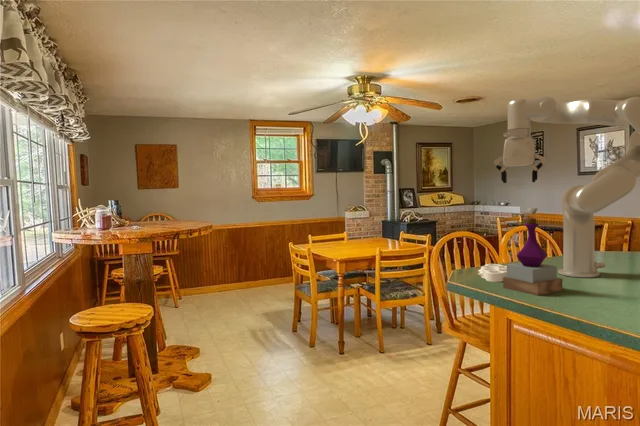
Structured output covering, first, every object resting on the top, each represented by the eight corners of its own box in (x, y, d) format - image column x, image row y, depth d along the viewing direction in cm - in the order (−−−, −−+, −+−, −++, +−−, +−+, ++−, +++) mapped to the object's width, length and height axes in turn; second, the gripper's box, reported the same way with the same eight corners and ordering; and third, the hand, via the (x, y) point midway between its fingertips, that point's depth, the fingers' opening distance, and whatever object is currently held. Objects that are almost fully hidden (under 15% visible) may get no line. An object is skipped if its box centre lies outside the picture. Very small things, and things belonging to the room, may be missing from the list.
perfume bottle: (542, 268, 131) (543, 208, 130) (516, 266, 136) (516, 208, 135) (547, 264, 137) (548, 207, 136) (521, 262, 142) (522, 207, 140)
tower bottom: (527, 284, 145) (527, 272, 145) (562, 291, 135) (562, 278, 134) (503, 289, 139) (503, 277, 139) (537, 297, 129) (537, 283, 129)
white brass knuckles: (524, 284, 145) (477, 282, 150) (518, 273, 162) (477, 272, 167) (524, 274, 145) (477, 272, 150) (518, 264, 162) (477, 263, 167)
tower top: (529, 273, 143) (529, 261, 143) (556, 279, 134) (556, 266, 134) (506, 276, 139) (506, 264, 139) (532, 282, 130) (532, 269, 130)
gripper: (491, 136, 158) (491, 183, 159) (544, 131, 149) (544, 181, 150) (495, 137, 164) (495, 183, 165) (547, 133, 155) (547, 181, 156)
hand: (519, 182), depth 158 cm, fingers open, 9 cm apart
